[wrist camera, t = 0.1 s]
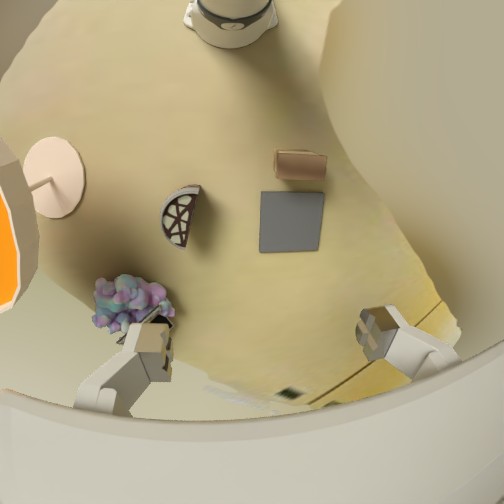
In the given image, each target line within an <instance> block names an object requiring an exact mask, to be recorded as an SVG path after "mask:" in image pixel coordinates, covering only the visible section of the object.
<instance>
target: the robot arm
mask: <svg viewBox="0 0 504 504" xmlns="http://www.w3.org/2000/svg"><path fill="white" fill-rule="evenodd" d="M189 16H191V17H189ZM183 23H184V25H186V26H187V27H189V28H191V29H193V30H195V31H196V32H197V33H198V35H199V36H200V37H201V38H202V39H203V40H204V41H206V42H207V43H209V44H211V45H213V46H216V47H220V48H239V47H243V46H246V45H249V44H251V43H253V42H254V41H256V40H257V39H258V38H259V37H260V36H261V35H262V34H263V33H264V32H265V31H266V30H268V29H270V28H273V27H275V26H276V25H277V23H278V19H277V15H276V11H275V7H274V3H273V0H190V2H189V5H188V8H187V10H186V13H185V16H184V20H183ZM360 318H361V320H360V321H359V322H358V323H357V326H356V338H357V341H358V343H359V344H360V345H362V346H364V348H363V352H364V354H365V356H366V357H367V359H368V361H373V360H377V359H382V358H384V359H385V360H386V361H388V362H389V363H390V364H392V365H393V366H394V367H396V368H397V369H398V370H400V371H401V372H402V373H404V374H405V375H406V376H408V377H409V378H410V379H412V381H411V383H410V384H408V385H405V386H402V387H399V388H396V389H393V390H390V391H387V392H384V393H380V394H377V395H374V396H370V397H367V398H363V399H359V400H356V401H352V402H348V403H344V404H339V405H335V406H330V407H326V408H321V409H316V410H310V411H305V412H299V413H293V414H285V415H279V416H270V417H261V418H250V419H237V420H214V421H178V420H156V419H144V418H133V416H132V415H131V413H130V412H129V409H130V408H131V406H132V405H133V404H134V403H135V402H136V400H137V399H138V398H139V397H140V395H141V394H142V393H143V392H144V391H145V389H146V388H147V387H148V385H149V384H150V382H170V381H171V374H172V367H171V364H170V363H171V362H172V361H173V356H174V353H173V342H172V339H171V338H170V337H169V332H170V330H169V326H168V324H156V323H132V324H131V325H130V327H129V330H128V333H127V336H126V339H125V342H124V346H123V349H122V352H117V353H116V354H115V355H114V356H113V357H111V358H110V359H109V360H108V361H107V362H105V363H104V364H103V365H102V366H101V367H100V368H98V369H97V370H96V371H95V372H94V373H92V374H91V375H90V376H89V377H88V378H86V379H85V380H84V381H83V382H82V383H81V384H80V387H79V390H78V393H77V396H76V399H75V402H74V406H73V408H72V407H67V406H63V405H58V404H55V403H51V402H47V401H44V400H40V399H37V398H33V397H30V396H27V395H24V394H21V393H18V392H15V391H13V390H9V389H2V390H0V504H504V340H502V341H500V342H498V343H496V344H495V345H493V346H491V347H489V348H488V349H486V350H484V351H482V352H480V353H479V354H476V355H475V356H473V357H471V358H469V359H467V360H465V361H463V362H462V360H461V359H460V358H459V356H458V355H457V354H456V352H455V351H454V350H453V348H452V347H451V346H450V345H449V344H447V343H445V342H443V341H441V340H439V339H437V338H435V337H433V336H431V335H430V334H428V333H426V332H424V331H422V330H420V329H418V328H416V327H414V326H409V325H408V323H407V322H406V321H405V319H404V318H403V317H402V315H401V314H400V313H399V312H398V310H397V309H396V308H395V306H394V305H392V304H390V305H384V306H379V307H373V308H367V309H363V310H362V311H361V314H360Z"/></svg>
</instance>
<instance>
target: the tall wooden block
mask: <svg viewBox="0 0 504 504" xmlns="http://www.w3.org/2000/svg"><path fill="white" fill-rule="evenodd" d="M326 162H327V157H326V156H324V155H317V154H315V153H312V152H310V151H307V150H293V149H274V171H275V172H276V178H277V179H288V180H319V181H325V174H326Z"/></svg>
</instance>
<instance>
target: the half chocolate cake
mask: <svg viewBox="0 0 504 504" xmlns="http://www.w3.org/2000/svg"><path fill="white" fill-rule="evenodd" d="M199 188H200V185H188V186H186V187H183V188H181V189H180V190H177V191H176V192H174V193H172V194H171V195H170V196H169V197H168V198H167V199H166V200H165V202H164V203H163V206H162V208H161V212H160V225H161V229H162V232H163V234H164V236H165V237H166V238H167V240H168V241H169V242H170V243H171V244H172V245H174V246H175V247H177V248H179V249H182V250H185V248H186V243H187V239H188V234H189V230H190V226H191V221H192V217H193V213H194V209H195V204H196V200H197V196H198V192H199Z"/></svg>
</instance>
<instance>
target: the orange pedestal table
mask: <svg viewBox="0 0 504 504" xmlns="http://www.w3.org/2000/svg"><path fill="white" fill-rule="evenodd" d="M84 186H85V173H84V165H83V162H82V160H81V157H80V155H79V152H78V151H77V150H76V148H75V147H74V146H73V145H72V144H71V143H70V142H69V141H68V140H65V139H63V138H60V137H57V136H54V137H48V138H43V139H41V140H40V141H39V142H37V143H36V144H35V145H34V146H32V148H31V149H30V151H29V153H28V155H27V156H26V158H25V161H24V166H23V170H22V168H21V165H20V162H19V159H18V158H17V157H16V156H15V154H14V153H13V152H12V151H11V149H10V148H9V147H8V145H7V144H6V143H5V141H4V140H3V139H2V137H1V136H0V313H2V312H4V311H6V310H8V309H11V308H13V306H14V305H15V304H16V302H17V301H18V300H19V298H20V297H21V296H22V295H23V293H24V292H25V291H26V289H27V288H28V286H29V284H30V282H31V280H32V278H33V276H34V274H35V272H36V270H37V268H38V250H39V238H40V235H39V230H38V225H37V220H36V214H35V210H36V211H37V212H38V213H40V214H42V215H44V216H46V217H48V218H61V217H63V216H65V215H67V214H68V213H70V212H72V211H73V210H74V208H75V207H76V206H77V204H78V203H79V201H80V200H81V198H82V194H83V190H84Z"/></svg>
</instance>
